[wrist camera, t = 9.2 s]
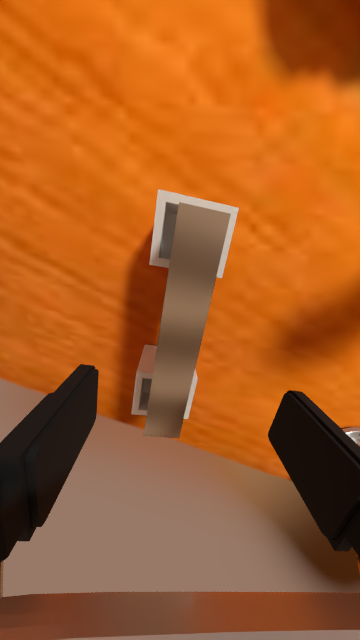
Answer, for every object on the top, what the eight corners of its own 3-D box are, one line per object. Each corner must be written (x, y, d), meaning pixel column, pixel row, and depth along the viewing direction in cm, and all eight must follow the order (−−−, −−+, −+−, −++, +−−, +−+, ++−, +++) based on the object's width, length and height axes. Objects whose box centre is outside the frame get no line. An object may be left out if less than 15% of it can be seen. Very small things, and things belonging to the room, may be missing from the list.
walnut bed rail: (176, 390, 24) (178, 438, 17) (150, 387, 23) (143, 435, 17) (208, 232, 18) (230, 213, 11) (175, 225, 18) (179, 202, 11)
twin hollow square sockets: (183, 382, 28) (187, 419, 22) (140, 378, 28) (131, 414, 21) (217, 225, 22) (238, 207, 15) (161, 213, 21) (158, 189, 14)
